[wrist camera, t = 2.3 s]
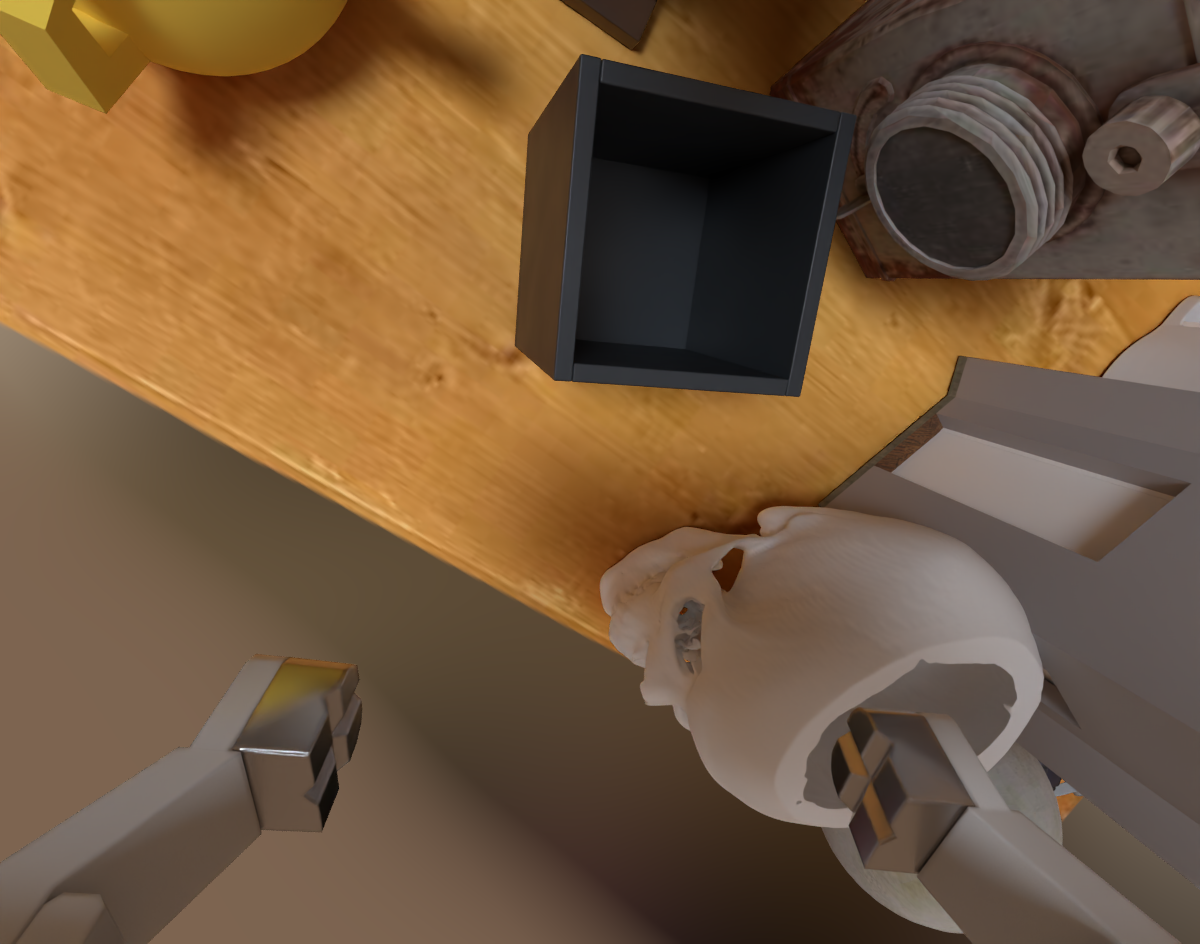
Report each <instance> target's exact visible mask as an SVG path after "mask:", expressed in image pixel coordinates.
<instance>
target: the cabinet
mask: <svg viewBox="0 0 1200 944" xmlns="http://www.w3.org/2000/svg"><path fill="white" fill-rule="evenodd" d="M818 506H819V507H825V508H832V509H839V510H847V511H854V512H859V513H863V514H868V515H873V516H880V517H887V518H894V519H899V520H904V521H908V522H912V523H915V524H919V525H922V526H925V527H928V528H931V529H934V530H937V531H939V532H942V533H944V534H947V535H949V536H952V537H954V538H956V539H958V540H960V541H961V542H963V543H965V544H966V545H968V546H969V547H970V548H972V549H973V550H974V551H975V552H976V553H977V554H979V555H980V556H981V557H982V558H983V559H984V560H985V561H986V562H987V563H989V564H990V565H991V566H992V567H993V568H994V569H995V571H996V572H997V573H998V574H999V575H1000V576H1001V577H1002V578H1003V579H1004V581H1005V582H1006V583H1007V584H1008V585H1009V587H1010V588H1011V590H1012V592H1013V593H1014V595H1015V596H1016V597H1017V599H1018V600H1019V602H1020V604H1021V606H1022V607H1023V609H1024V611H1025V614H1026V616H1027V619H1028V622H1029V625H1030V629H1031V633H1032V635H1033V637H1034V639H1035V642H1036V645H1037V649H1038V652H1039V656H1040V659H1041V662H1042V666H1043V675H1044V682H1043V689H1042V692H1041V701H1040V703H1039V705H1038V707H1037V709H1036V710H1035V712H1034V713H1033V715H1032V717H1031V718H1030V720H1029V722H1028V723H1027V725H1026V726H1025V728H1024V729H1023V731H1022V732H1021V734H1020V735H1019V737H1018V738H1017V739H1016V741H1015V742H1017V743H1018V744H1019V745H1020V746H1022V747H1023V748H1024V749H1025V750H1027V751H1028V752H1029V753H1030V754H1032V755H1033V756H1034V757H1035V758H1037V759H1038V760H1039V761H1040V762H1041V763H1043V764H1044V765H1045V766H1046V767H1048V768H1049V769H1050V770H1051V771H1053V772H1054V773H1055V774H1056V775H1058V776H1059V777H1060V778H1061V779H1063V780H1064V781H1065V782H1066V783H1068V784H1069V785H1070V786H1071V787H1073V788H1074V789H1075V790H1076V791H1078V792H1079V793H1080V794H1081V795H1083V796H1084V797H1085V798H1087V799H1088V800H1089V801H1090V802H1091V803H1093V804H1094V805H1095V806H1096V807H1098V808H1099V809H1100V810H1101V811H1103V812H1104V813H1105V814H1106V815H1108V816H1109V817H1110V818H1111V819H1113V820H1114V821H1115V822H1116V823H1118V824H1119V825H1120V826H1121V827H1122V828H1124V829H1125V830H1126V831H1128V832H1129V833H1130V834H1131V835H1133V836H1134V837H1135V838H1136V839H1137V840H1139V841H1140V842H1141V843H1143V844H1144V845H1145V846H1146V847H1147V848H1149V849H1150V850H1151V851H1152V852H1154V853H1155V854H1156V855H1157V856H1159V857H1160V858H1161V859H1162V860H1164V861H1165V862H1166V863H1167V864H1169V865H1170V866H1171V867H1172V868H1174V869H1175V870H1176V871H1177V872H1179V873H1180V874H1181V875H1182V876H1184V877H1185V878H1186V879H1187V880H1189V881H1190V882H1191V883H1192V884H1194V885H1195V886H1196V887H1197V888H1199V889H1200V392H1195V391H1188V390H1182V389H1175V388H1168V387H1162V386H1155V385H1149V384H1142V383H1136V382H1129V381H1122V380H1116V379H1109V378H1103V377H1096V376H1090V375H1083V374H1076V373H1070V372H1063V371H1057V370H1050V369H1044V368H1037V367H1030V366H1024V365H1017V364H1011V363H1004V362H998V361H991V360H984V359H978V358H971V357H964V356H959V359H958V362H957V366H956V369H955V372H954V376H953V379H952V382H951V386H950V389H949V392H948V395H947V396H946V397H945V398H944V399H943V400H941V401H940V402H939V403H938V404H937V405H935V406H934V407H933V408H932V409H931V410H929V411H928V412H927V413H926V414H925V415H924V416H922V417H921V418H920V419H919V420H918V421H916V422H915V423H914V424H913V425H912V426H910V427H909V428H908V429H907V430H906V431H904V432H903V433H902V434H901V435H900V436H899V437H897V438H896V439H895V440H894V441H893V442H891V443H890V444H889V445H888V446H887V447H885V448H884V449H883V450H882V451H881V452H879V453H878V454H877V455H876V456H875V457H874V458H872V459H871V460H870V461H869V462H868V463H866V464H865V465H864V466H863V467H862V468H860V469H859V470H858V471H857V472H856V473H855V474H853V475H852V476H851V477H850V478H849V479H847V480H846V481H845V482H844V483H843V484H841V485H840V486H839V487H838V488H837V489H835V490H834V491H833V492H832V493H831V494H830V495H828V496H827V497H826V498H825V499H824V500H822V501H821V502H820V503H819V504H818Z"/></svg>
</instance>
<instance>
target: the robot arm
mask: <svg viewBox="0 0 1200 944" xmlns="http://www.w3.org/2000/svg"><path fill="white" fill-rule="evenodd" d="M1102 377H1103V378H1109V379H1116V380H1122V381H1129V382H1136V383H1142V384H1149V385H1155V386H1162V387H1168V388H1175V389H1182V390H1188V391H1195V392H1200V296H1189V297H1187V298H1186V299H1185V300H1183V301H1182V302H1181V303H1180V304H1179V305H1178V306H1177V307H1176V308H1175V310H1174V311H1173V312H1172V313H1171V314H1170V315H1169V316H1168V318H1167V319H1166V320H1165V321H1164V322H1163V324H1162V325H1161V326H1159V327H1158V328H1157V329H1156V330H1154V331H1153V332H1151V333H1150V334H1148V335H1146V336H1145V337H1143V338H1141V339H1140V340H1138V341H1137V342H1136V343H1134V344H1133V345H1132V346H1130V347H1129V348H1128V349H1127V350H1126V351H1124V352H1123V353H1122V354H1121V355H1120V356H1119V357H1118V358H1117V359H1116V360H1115V361H1114V363H1113V364H1112V365H1111V366H1110V367H1109V368H1108V370H1107V371H1106V372H1105V374H1104V375H1103V376H1102ZM358 682H359V673H358V667H357V665H354V664H346V663H338V662H329V661H319V660H311V659H302V658H293V657H282V656H271V655H262V654H256V655H255V656H253V657H252V658H251V659H250V660H248V661H247V662H246V663H245V664H244V666H243V667H242V669H241V671H240V672H239V674H238V675H237V677H236V678H235V680H234V681H233V683H232V684H231V686H230V687H229V689H228V690H227V692H226V693H225V695H224V696H223V698H222V699H221V701H220V702H219V704H218V705H217V707H216V708H215V710H214V711H213V713H212V714H211V716H210V717H209V719H208V720H207V722H206V723H205V725H204V726H203V728H202V729H201V731H200V732H199V734H198V735H197V737H196V738H195V740H194V741H193V743H192V744H191V746H190V747H189V748H188V747H178V748H176V749H175V750H173V751H172V752H170V753H169V754H167V755H165V756H164V757H162V758H161V759H159V760H158V761H156V762H155V763H153V764H151V765H150V766H149V767H147V768H145V769H144V770H142V771H141V772H139V773H138V774H136V775H134V776H133V777H131V778H130V779H128V780H127V781H125V782H124V783H122V784H121V785H119V786H118V787H116V788H114V789H113V790H111V791H110V792H108V793H107V794H105V795H104V796H102V797H100V798H99V799H98V800H96V801H94V802H93V803H91V804H90V805H88V806H87V807H85V808H83V809H82V810H80V811H79V812H77V813H76V814H74V815H73V816H71V817H70V818H68V819H66V820H65V821H64V822H62V823H60V824H59V825H57V826H56V827H54V828H53V829H51V830H49V831H48V832H47V833H45V834H43V835H42V836H40V837H39V838H37V839H36V840H34V841H33V842H31V843H29V844H28V845H26V846H25V847H23V848H22V849H20V850H19V851H17V852H15V853H14V854H12V855H11V856H9V857H8V858H6V859H5V860H3V861H2V862H0V944H147V943H148V942H150V941H151V939H153V938H154V937H155V936H156V935H157V934H158V933H159V932H160V931H161V930H162V929H163V928H164V927H165V926H166V925H167V924H168V923H169V922H170V921H171V920H172V919H173V918H175V917H176V916H177V915H178V914H179V913H180V912H181V911H182V910H183V909H184V908H185V907H186V906H187V905H188V904H189V903H190V902H191V901H192V900H193V899H194V898H195V897H196V896H197V895H198V894H199V893H200V892H201V891H202V890H203V889H205V888H206V887H207V886H208V884H210V883H211V882H212V881H213V880H214V879H215V878H216V877H217V876H218V875H219V874H220V873H221V872H222V871H223V870H224V869H225V868H226V867H228V866H229V865H230V864H231V863H232V862H233V861H234V860H235V859H236V858H237V857H238V856H239V855H240V854H241V853H242V852H243V851H244V850H245V849H246V848H247V847H248V846H249V845H251V843H253V841H255V840H256V839H257V838H258V837H259V836H260V835H261V830H276V831H302V832H322V830H323V828H324V825H325V822H326V820H327V818H328V815H329V813H330V810H331V808H332V805H333V803H334V800H335V798H336V795H337V793H338V790H339V783H338V775H337V771H338V770H339V769H341V768H342V767H343V766H344V765H345V764H347V763H348V762H349V761H350V759H351V757H352V754H353V751H354V749H355V746H356V743H357V739H358V735H359V731H360V726H361V718H362V701H361V698H360V697H358V696H357V695H356V694H355V693H354V691H355V689H356V687H357V685H358ZM847 724H848V726H849V729H850V731H849V732H848V733H846V734H845V735H843V736H841V737H840V738H838V739H837V741H836V743H835V746H834V748H833V750H832V756H831V773H832V778H833V783H834V786H835V789H836V792H837V795H838V798H839V799H840V800H841V801H842V802H843V803H844V804H845V805H846V806H847V807H848V808H849V809H850V810H851V811H852V812H853V813H852V816H851V819H850V822H849V828H850V831H851V833H852V836H853V839H854V842H855V844H856V847H857V850H858V852H859V855H860V858H861V860H862V863H863V866H864V869H871V870H882V871H892V872H902V873H912V874H918V875H917V878H918V879H919V881H920V882H921V883H922V884H923V885H924V887H925V888H926V889H927V890H928V891H929V892H930V894H931V895H932V896H933V897H934V898H935V900H936V901H937V902H938V903H939V904H940V906H941V907H942V908H943V909H944V910H945V911H946V913H947V914H948V915H949V916H950V917H951V919H952V920H953V921H954V922H955V923H956V924H957V926H958V927H959V928H960V929H961V930H962V932H963V933H964V934H965V935H966V936H967V937H968V939H969V940H970V941H971V942H972V943H973V944H1182V943H1181V942H1179V941H1178V940H1177V939H1176V938H1175V937H1173V936H1172V935H1171V934H1169V933H1168V932H1167V931H1166V930H1165V929H1163V928H1162V927H1161V926H1160V925H1159V924H1157V923H1156V922H1155V921H1154V920H1152V919H1151V918H1150V917H1149V916H1148V915H1146V914H1145V913H1144V912H1142V911H1141V910H1140V909H1139V908H1138V907H1137V906H1135V905H1134V904H1133V903H1132V902H1130V901H1129V900H1128V899H1127V898H1125V897H1124V896H1123V895H1122V894H1121V893H1119V892H1118V891H1117V890H1116V889H1114V888H1113V887H1112V886H1111V885H1110V884H1108V883H1107V882H1106V881H1105V880H1103V879H1102V878H1101V877H1100V876H1098V875H1097V874H1096V873H1095V872H1094V871H1092V870H1091V869H1090V868H1089V867H1087V866H1086V865H1085V864H1084V863H1083V862H1081V861H1080V860H1079V859H1078V858H1076V857H1075V856H1074V855H1073V854H1072V853H1070V852H1069V851H1068V850H1066V849H1065V848H1064V847H1063V846H1062V845H1060V844H1059V843H1058V842H1057V841H1056V840H1054V839H1053V838H1052V837H1051V836H1049V835H1048V834H1047V833H1046V832H1045V831H1043V830H1042V829H1041V828H1040V827H1038V826H1037V825H1036V824H1035V823H1034V822H1032V821H1031V820H1030V819H1029V818H1027V817H1026V816H1025V815H1024V814H1022V813H1021V812H1020V811H1016V810H1010V809H1009V807H1008V806H1007V804H1006V803H1005V801H1004V799H1003V798H1002V796H1001V794H1000V793H999V791H998V790H997V788H996V786H995V785H994V783H993V781H992V780H991V778H990V777H989V775H988V773H987V772H986V770H985V768H984V767H983V765H982V764H981V762H980V760H979V759H978V757H977V755H976V754H975V752H974V751H973V749H972V747H971V746H970V744H969V742H968V741H967V739H966V738H965V736H964V734H963V733H962V731H961V729H960V728H959V726H958V725H957V723H956V722H955V720H953V719H952V718H951V717H950V716H949V715H947V714H935V713H924V712H914V711H906V710H892V709H878V708H864V707H858V708H856V709H855V710H853V711H852V712H851V714H850V716H849V718H848V719H847Z"/></svg>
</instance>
